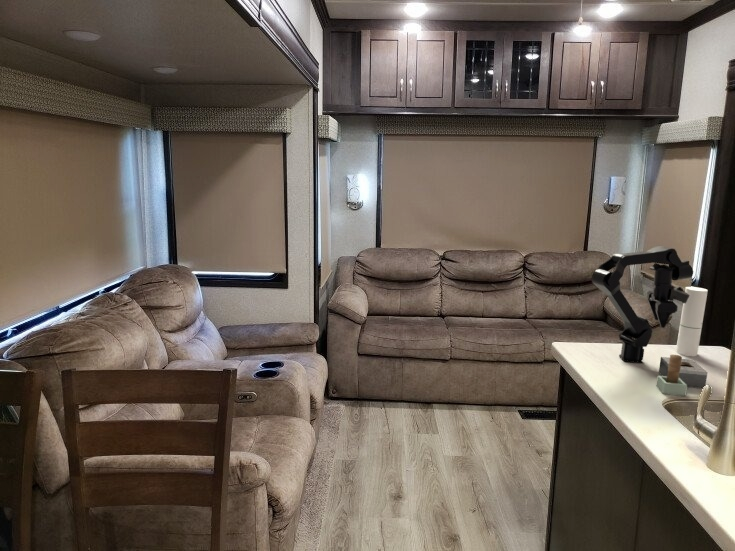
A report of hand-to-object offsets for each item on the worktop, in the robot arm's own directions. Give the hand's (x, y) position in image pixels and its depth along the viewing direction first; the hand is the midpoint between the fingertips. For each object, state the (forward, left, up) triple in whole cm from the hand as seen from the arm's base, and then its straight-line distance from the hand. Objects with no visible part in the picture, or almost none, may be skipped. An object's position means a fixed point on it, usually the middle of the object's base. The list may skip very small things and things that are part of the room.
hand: (659, 323), depth 204 cm
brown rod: (-6, -32, -13) cm, 35 cm away
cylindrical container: (+14, +10, -13) cm, 22 cm away
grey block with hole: (+1, -21, -13) cm, 25 cm away
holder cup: (-6, -32, -13) cm, 35 cm away
